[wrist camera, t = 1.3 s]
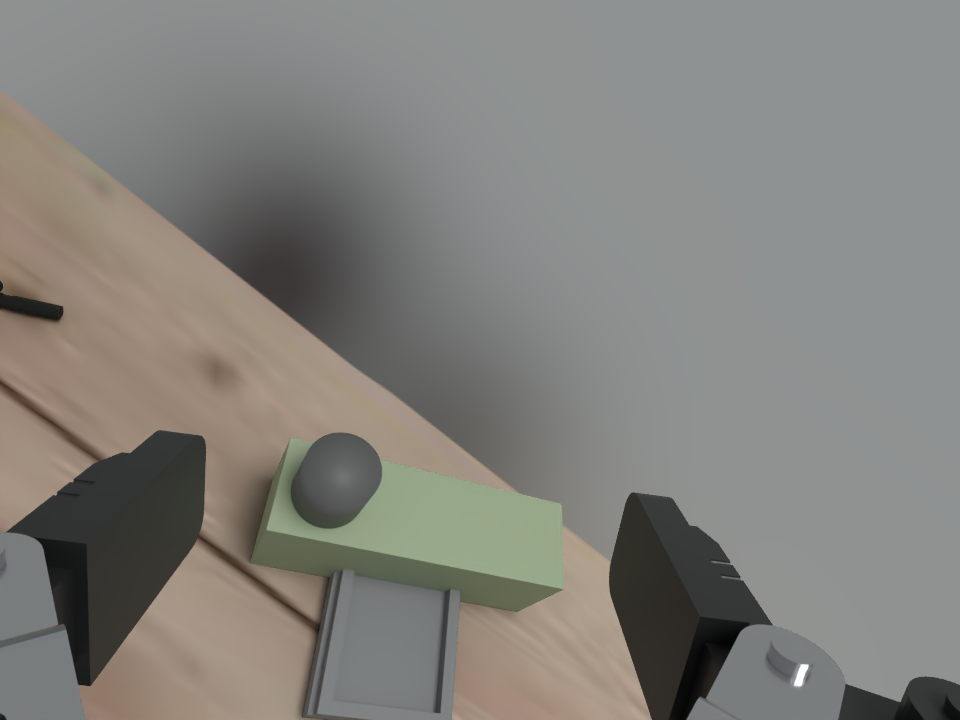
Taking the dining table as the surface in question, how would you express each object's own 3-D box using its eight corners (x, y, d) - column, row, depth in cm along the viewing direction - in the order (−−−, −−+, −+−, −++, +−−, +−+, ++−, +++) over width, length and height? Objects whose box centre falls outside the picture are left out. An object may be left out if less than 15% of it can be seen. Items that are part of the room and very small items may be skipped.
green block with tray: (514, 740, 56) (603, 727, 45) (210, 706, 48) (232, 681, 37) (518, 533, 67) (590, 484, 57) (272, 478, 59) (303, 409, 49)
